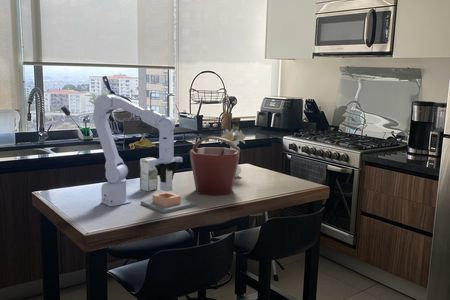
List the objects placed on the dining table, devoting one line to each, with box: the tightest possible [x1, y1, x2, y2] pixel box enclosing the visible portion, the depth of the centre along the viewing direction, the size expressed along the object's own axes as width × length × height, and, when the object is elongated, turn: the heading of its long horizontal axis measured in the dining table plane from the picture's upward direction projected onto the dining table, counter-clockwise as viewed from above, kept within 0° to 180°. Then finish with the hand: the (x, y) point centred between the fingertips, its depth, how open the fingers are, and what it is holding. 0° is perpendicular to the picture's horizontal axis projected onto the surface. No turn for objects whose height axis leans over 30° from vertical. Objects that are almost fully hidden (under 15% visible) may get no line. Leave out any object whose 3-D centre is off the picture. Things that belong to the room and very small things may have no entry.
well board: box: [140, 191, 197, 214], centre depth 182 cm, size 16×16×4 cm
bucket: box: [189, 136, 241, 197], centre depth 203 cm, size 24×22×25 cm
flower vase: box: [220, 128, 246, 178], centre depth 236 cm, size 13×18×25 cm
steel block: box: [159, 169, 173, 192], centre depth 180 cm, size 3×4×8 cm
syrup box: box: [139, 157, 159, 192], centre depth 205 cm, size 6×6×14 cm
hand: (166, 181), depth 180 cm, fingers closed on steel block, 3 cm apart
